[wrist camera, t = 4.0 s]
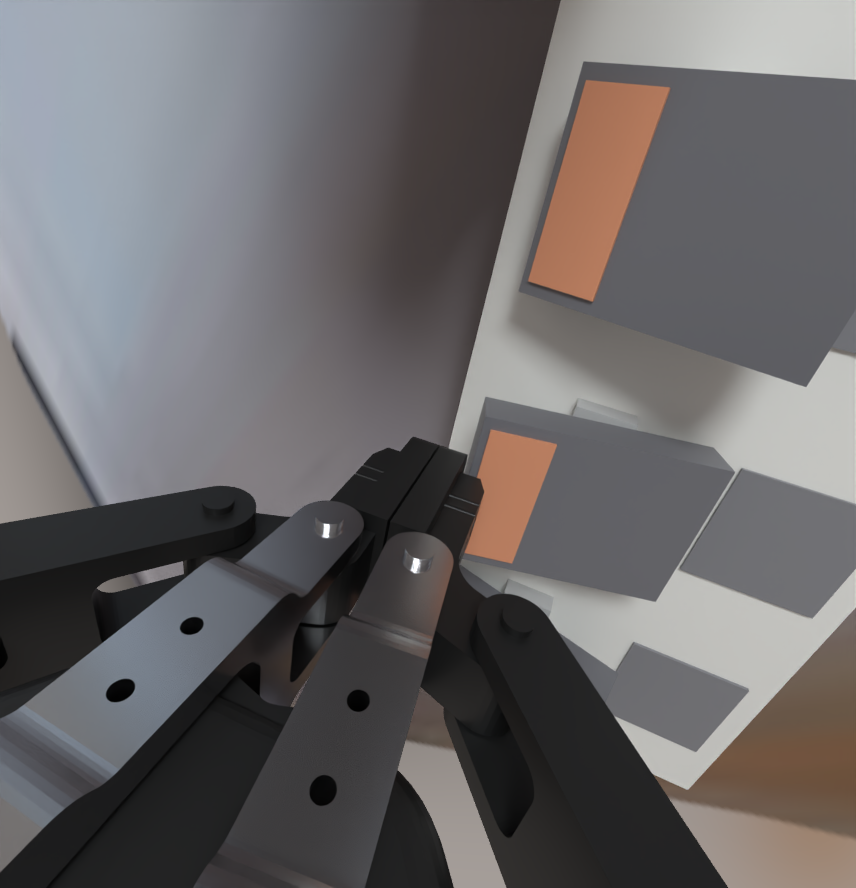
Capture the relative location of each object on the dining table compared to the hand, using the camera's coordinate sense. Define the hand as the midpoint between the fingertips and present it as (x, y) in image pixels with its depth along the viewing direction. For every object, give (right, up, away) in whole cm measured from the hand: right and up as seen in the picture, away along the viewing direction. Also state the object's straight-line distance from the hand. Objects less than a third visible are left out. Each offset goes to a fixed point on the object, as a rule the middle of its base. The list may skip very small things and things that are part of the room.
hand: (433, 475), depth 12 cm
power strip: (+8, +4, +3) cm, 9 cm away
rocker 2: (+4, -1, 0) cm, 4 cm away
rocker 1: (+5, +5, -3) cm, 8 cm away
